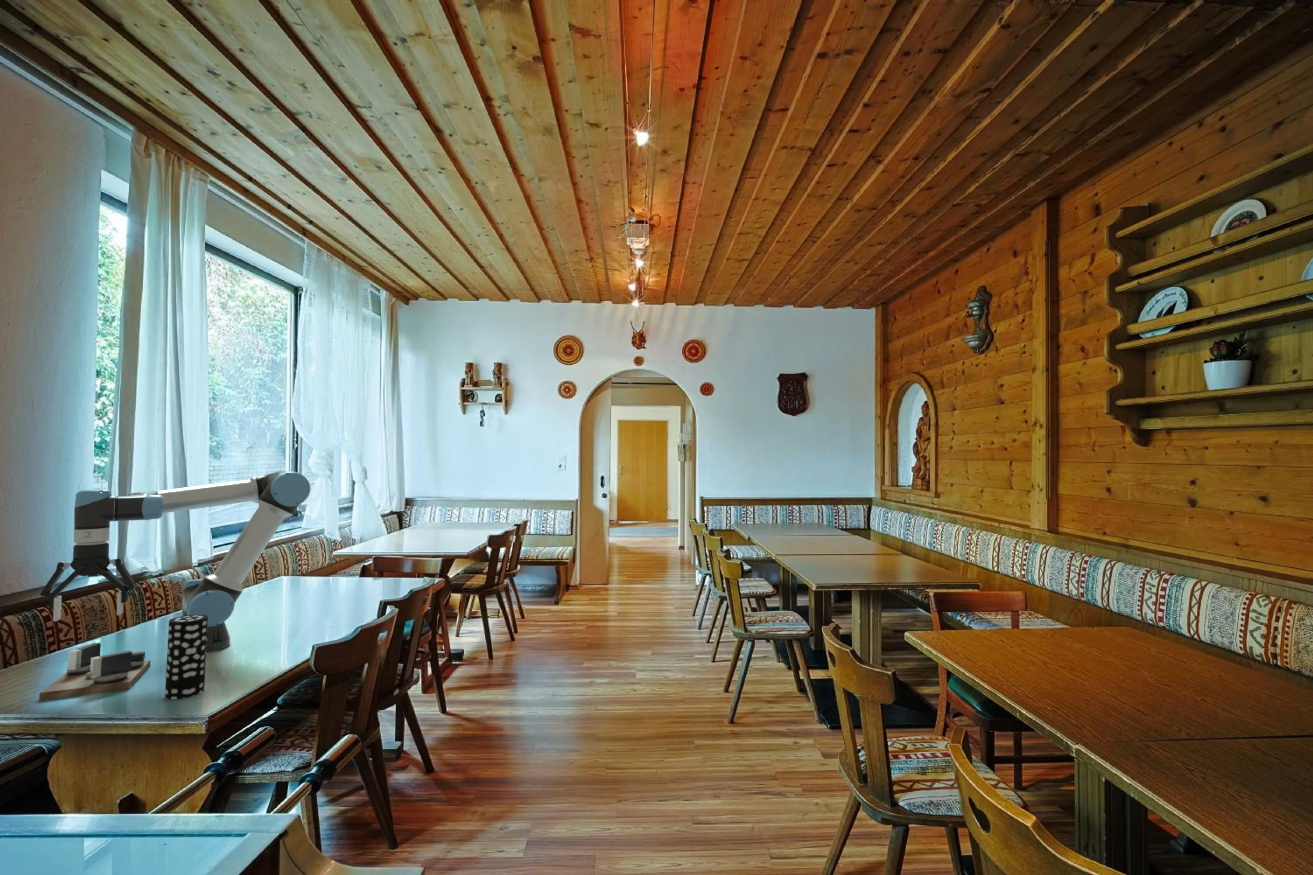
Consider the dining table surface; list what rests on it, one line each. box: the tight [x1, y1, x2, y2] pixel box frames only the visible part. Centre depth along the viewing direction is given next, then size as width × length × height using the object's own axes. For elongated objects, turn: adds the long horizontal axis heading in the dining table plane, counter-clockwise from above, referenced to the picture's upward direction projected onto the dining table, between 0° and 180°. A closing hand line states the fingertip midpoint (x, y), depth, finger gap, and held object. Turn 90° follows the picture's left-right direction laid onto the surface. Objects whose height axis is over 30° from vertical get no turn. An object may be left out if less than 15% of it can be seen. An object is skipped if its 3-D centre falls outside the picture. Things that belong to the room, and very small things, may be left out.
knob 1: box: [66, 642, 102, 674], centre depth 170 cm, size 8×7×7 cm
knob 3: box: [131, 650, 146, 669], centre depth 173 cm, size 7×7×4 cm
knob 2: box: [90, 650, 133, 683], centre depth 163 cm, size 8×7×7 cm
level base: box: [38, 659, 152, 701], centre depth 167 cm, size 18×20×3 cm
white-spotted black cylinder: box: [164, 615, 208, 700], centre depth 160 cm, size 8×8×20 cm
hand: (89, 617), depth 171 cm, fingers open, 13 cm apart
